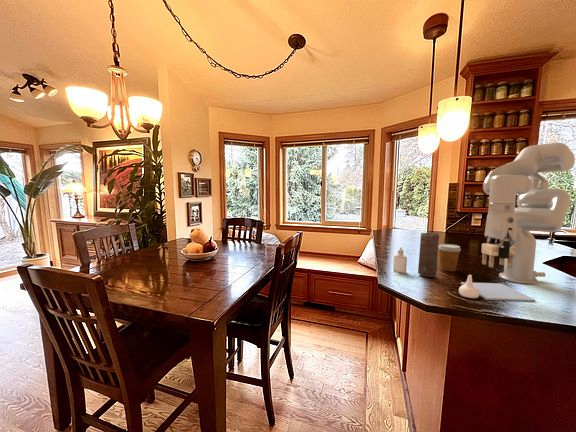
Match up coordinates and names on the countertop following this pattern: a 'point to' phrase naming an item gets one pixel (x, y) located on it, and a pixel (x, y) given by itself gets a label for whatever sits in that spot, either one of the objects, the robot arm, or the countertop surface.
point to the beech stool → (496, 254)
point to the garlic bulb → (469, 289)
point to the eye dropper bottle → (400, 262)
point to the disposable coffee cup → (448, 256)
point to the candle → (428, 254)
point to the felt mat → (499, 292)
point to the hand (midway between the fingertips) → (497, 255)
